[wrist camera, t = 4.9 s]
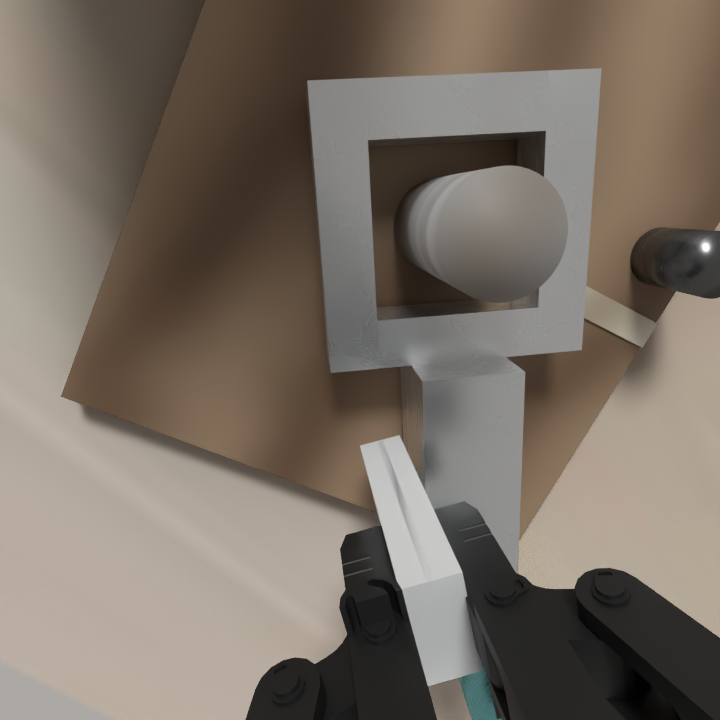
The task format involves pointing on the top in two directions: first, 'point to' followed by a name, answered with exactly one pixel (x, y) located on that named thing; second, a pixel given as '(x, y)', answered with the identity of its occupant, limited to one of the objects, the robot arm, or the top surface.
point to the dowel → (679, 260)
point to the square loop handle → (465, 317)
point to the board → (389, 224)
